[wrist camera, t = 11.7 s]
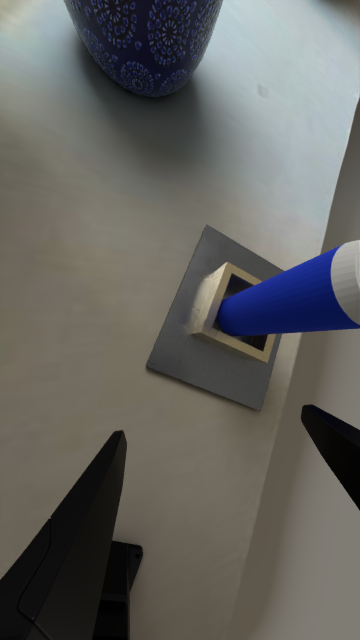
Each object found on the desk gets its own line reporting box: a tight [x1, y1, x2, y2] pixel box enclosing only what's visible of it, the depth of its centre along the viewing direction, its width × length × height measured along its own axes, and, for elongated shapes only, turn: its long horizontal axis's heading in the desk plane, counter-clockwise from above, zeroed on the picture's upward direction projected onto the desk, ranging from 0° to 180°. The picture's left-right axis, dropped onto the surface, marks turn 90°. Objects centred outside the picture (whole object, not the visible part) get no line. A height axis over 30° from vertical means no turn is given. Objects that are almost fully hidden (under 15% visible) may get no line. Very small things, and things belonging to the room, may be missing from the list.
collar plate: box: [146, 225, 285, 411], centre depth 23 cm, size 20×16×4 cm
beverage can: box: [217, 240, 360, 336], centre depth 17 cm, size 5×5×15 cm
